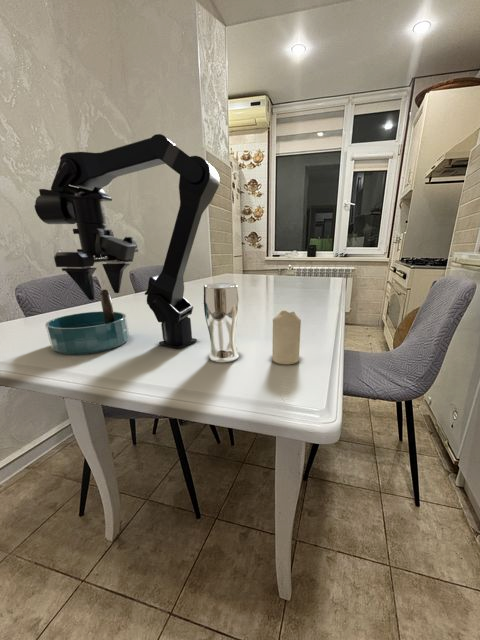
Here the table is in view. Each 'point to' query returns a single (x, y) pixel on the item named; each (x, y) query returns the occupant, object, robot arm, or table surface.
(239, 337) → the table surface
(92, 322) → the bowl
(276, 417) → the table surface
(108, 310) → the brown rod
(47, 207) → the robot arm
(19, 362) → the table surface
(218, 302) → the beer glass
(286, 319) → the candle
